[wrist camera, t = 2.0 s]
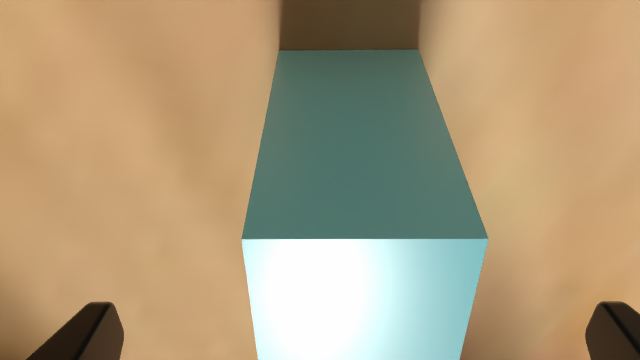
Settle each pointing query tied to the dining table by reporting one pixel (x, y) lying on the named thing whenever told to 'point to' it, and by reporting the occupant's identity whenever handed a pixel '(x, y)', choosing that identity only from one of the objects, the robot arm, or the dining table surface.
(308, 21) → the dining table surface
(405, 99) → the plug
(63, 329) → the robot arm
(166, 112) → the dining table surface
